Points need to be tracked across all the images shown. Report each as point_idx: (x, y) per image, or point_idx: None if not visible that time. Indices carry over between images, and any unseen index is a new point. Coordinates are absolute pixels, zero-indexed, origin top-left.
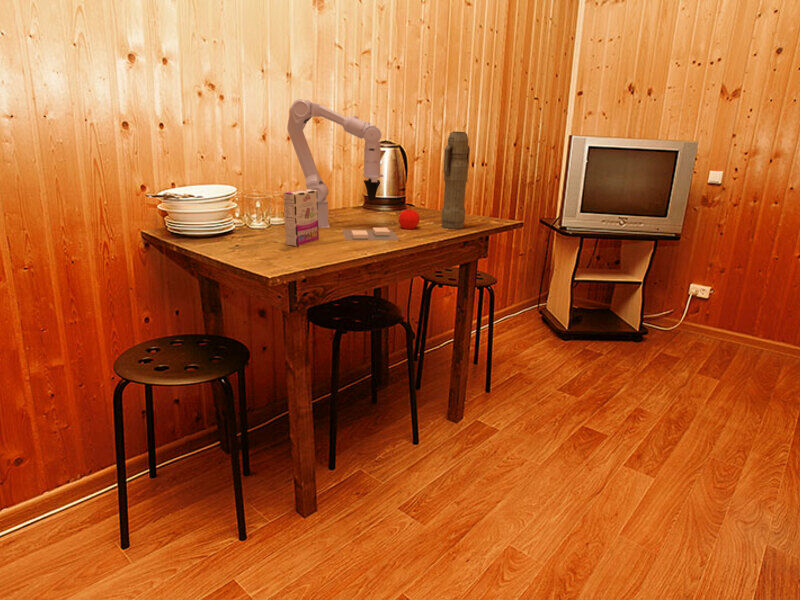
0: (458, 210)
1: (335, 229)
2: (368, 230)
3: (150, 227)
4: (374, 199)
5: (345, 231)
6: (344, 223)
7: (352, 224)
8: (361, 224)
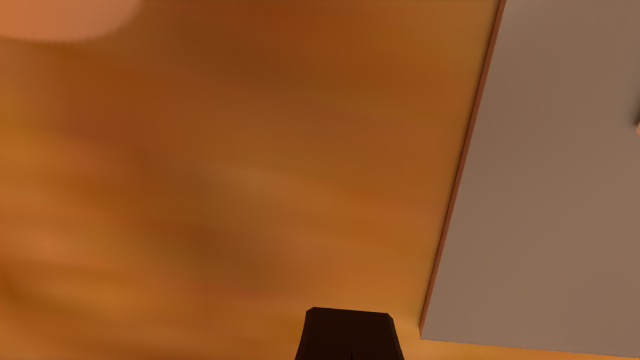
0: None
1: None
2: (528, 150)
3: None
4: (397, 338)
5: (515, 330)
6: (44, 257)
7: (85, 204)
8: (68, 123)
